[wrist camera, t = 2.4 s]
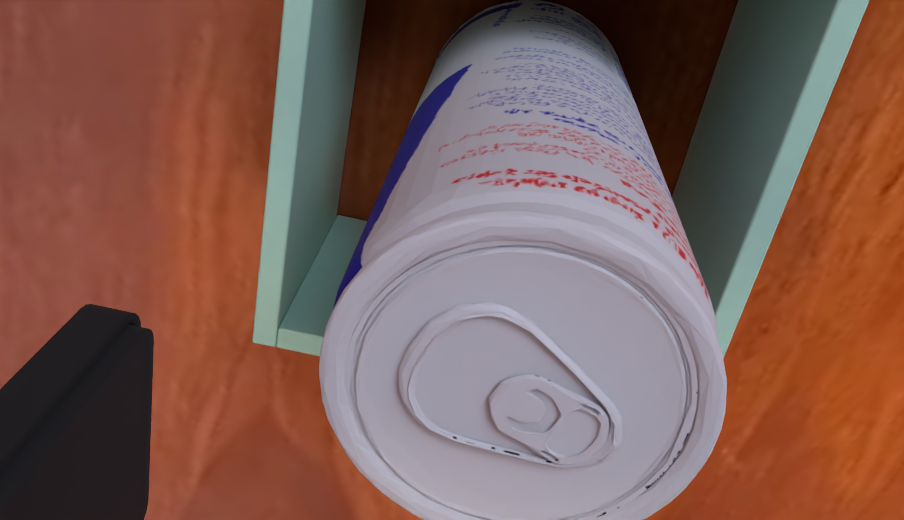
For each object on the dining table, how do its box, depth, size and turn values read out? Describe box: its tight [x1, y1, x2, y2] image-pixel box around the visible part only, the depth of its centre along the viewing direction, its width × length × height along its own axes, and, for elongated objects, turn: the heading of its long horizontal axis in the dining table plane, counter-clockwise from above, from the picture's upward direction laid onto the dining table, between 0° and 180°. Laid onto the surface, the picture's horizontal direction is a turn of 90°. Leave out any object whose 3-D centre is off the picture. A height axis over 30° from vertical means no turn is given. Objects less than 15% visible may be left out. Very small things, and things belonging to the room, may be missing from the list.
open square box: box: [253, 0, 869, 358], centre depth 21 cm, size 11×11×7 cm
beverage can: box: [319, 0, 727, 520], centre depth 18 cm, size 6×6×15 cm
